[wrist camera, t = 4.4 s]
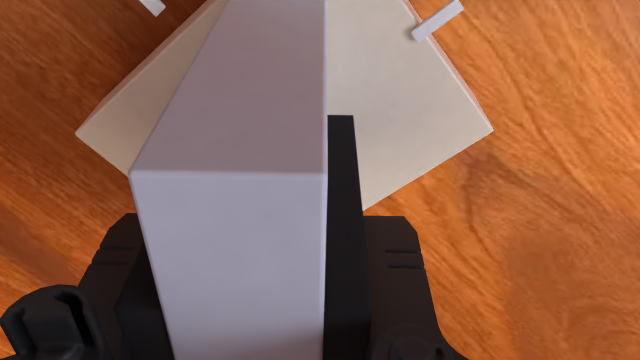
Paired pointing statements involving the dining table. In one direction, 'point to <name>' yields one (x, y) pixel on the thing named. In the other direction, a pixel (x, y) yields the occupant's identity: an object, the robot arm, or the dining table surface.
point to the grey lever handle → (242, 188)
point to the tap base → (342, 91)
